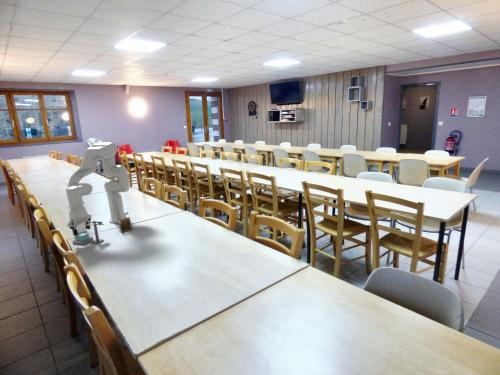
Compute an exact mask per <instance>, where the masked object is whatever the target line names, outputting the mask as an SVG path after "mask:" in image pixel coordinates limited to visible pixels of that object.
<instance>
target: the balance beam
mask: <svg viewBox="0 0 500 375" xmlns="http://www.w3.org/2000/svg"><path fill="white" fill-rule="evenodd" d="M89 223H90V224H89ZM93 224H96V225H97V226H104V225H105V224H104V223H103V221H97V220H93V221H90V222H88V224H84V226H90V227H92V226H93Z"/></svg>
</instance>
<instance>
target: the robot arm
mask: <svg viewBox="0 0 500 375" xmlns="http://www.w3.org/2000/svg"><path fill="white" fill-rule="evenodd" d="M117 152H118V146H117V144H116V143H115V142H109V141H108V142H96V143H93V144H92V145H91V147H87V148H86V149H85V150H84V153H83V157H82V160H81V165H80V167H79V168H78V169H77V170H75V172H74V173H73V174H72V175H71V176H70V177H69V180H68V184H67V188H66V189H65V192H66V196H67V201H68V207H69V206H70V210H69V209H68V218H69V222H68V223H67V224H66V226H67V227H68V228H69V229H70V230H71V231H72V235H73V236H78V235H79V234H78V232H77V229H76V227H77V225H80V224H82V223H84V222H85V224H88V222H91V220H92V214H89V213H88V212H87V209H86V207H85V205H84V204H85V202H84V201H83V197H84V196H88V195H90V194H92V192H93V185H92V184H90V183H87V182H86V183H85V182H83V183H80V181H82V179H83V178H85V177H88V176H89V175H91V174H94V172H95V171H96V166H97V163H98V161H101V164H102V169H103V174H104V176H105V177H106V178H107V179H108V180H106V181H105V183H104V186H103V187H104V190H105V193H106V197H107V201H108V207H109V213H110V219H109V223H112V224H116V223H117V224H118V223H119V220H123V219H128V217H127V215H129V213H130V212H128V211H126V212H125V210H124V209H125V208H124V203H123V197H122V195H121V193H127V192H128V191H129V190H130V179H129V174H128V173H129V172H128V169H127V167H126V166H125V165H123V164H116V160H115V157H114V156H115V155H116V154H117ZM89 224H91V223H89ZM86 230H92V228H91V226H86Z"/></svg>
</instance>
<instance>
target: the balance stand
mask: <svg viewBox="0 0 500 375" xmlns="http://www.w3.org/2000/svg"><path fill="white" fill-rule="evenodd" d="M96 224H97V223H96ZM96 224H93V223H92V226H93V230H94V237H95V239H93V240H92V241H91V242H92V244H100V243H102V242H104V239H101V238H100V237H99V233H98V225H96Z"/></svg>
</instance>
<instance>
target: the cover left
mask: <svg viewBox="0 0 500 375" xmlns="http://www.w3.org/2000/svg"><path fill="white" fill-rule="evenodd" d="M118 223H119V230H120V233H121V234H123V233H127V232H132V231H133V228H132V222H131V218H130V217H127V219H123V220H119V222H118Z"/></svg>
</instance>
